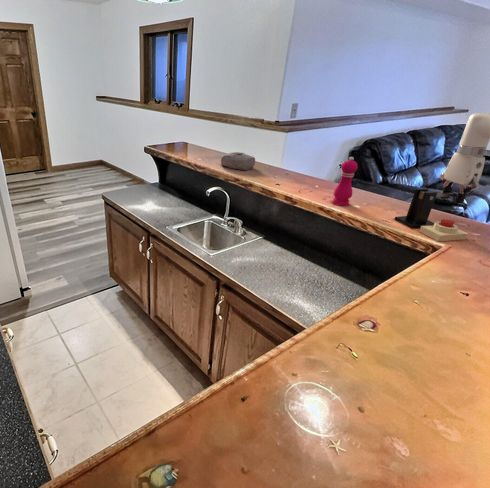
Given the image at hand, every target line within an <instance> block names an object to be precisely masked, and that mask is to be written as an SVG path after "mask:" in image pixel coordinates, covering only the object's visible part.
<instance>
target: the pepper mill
mask: <svg viewBox="0 0 490 488" xmlns="http://www.w3.org/2000/svg"><path fill="white" fill-rule="evenodd" d="M358 168H359V166H358V163H357V161H355V158H354V156H350V157H348V160H345V161H343V162H342V163H341V167H340V169H341V172H340V176H341V177H340V180H339V183H338V184H337V185H336V187H335V188H334V190H333V196H334V197H333V199H332V204H334V205H336V206H341V207H343V206H344V207H345V206H349V203H350V199H351V198H352V197H353V187H352V179H353V178H354V177H355V172H356V171H357V170H358Z"/></svg>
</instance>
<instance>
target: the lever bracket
mask: <svg viewBox="0 0 490 488" xmlns="http://www.w3.org/2000/svg"><path fill="white" fill-rule="evenodd" d="M420 191H427V192H425V193H424V195H423V198H422V199H420V198H418V196H419V194H420ZM437 193H438V192H437V191H429V188H415V190H414V192H413V195H412V198H411V201H410V205H409V207H408V210H407V213H406V215H402V216H401V215H399V216H394V219H393V220H395V221H396V222H399V223H400V224H402V225H404V226H406V227H408V228H410V229H412V230H416V229H420V228H421V226H431V225H434V223H435V222H433V221H432V220H429V217H430V215H431V212H432V209H433V207H434V204H435V200H436V198H437V197H436V196H437Z"/></svg>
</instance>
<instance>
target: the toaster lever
mask: <svg viewBox="0 0 490 488" xmlns="http://www.w3.org/2000/svg"><path fill="white" fill-rule="evenodd" d="M425 192H427V191H420V194H419V196H418V198H420V199H422V198H423V195H424V193H425ZM457 194H458V192H454V191H452V192H451V191H447V192H446V193H442V192H441V193H440V192H437V196H436V198H440V197H447V196H450V197H452V198H456V196H457Z"/></svg>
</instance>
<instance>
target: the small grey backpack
mask: <svg viewBox="0 0 490 488" xmlns="http://www.w3.org/2000/svg"><path fill="white" fill-rule="evenodd" d="M219 159H220V165H221V166H224V167H226V168H229V169H233V170H242V171H250V170H252V169H253V168H254V166H255V165H256V157H254V156H252V155H250V154H246V153H245V152H238V151H235V152H226V153H224V154H223V155H221V157H220V158H219Z"/></svg>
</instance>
